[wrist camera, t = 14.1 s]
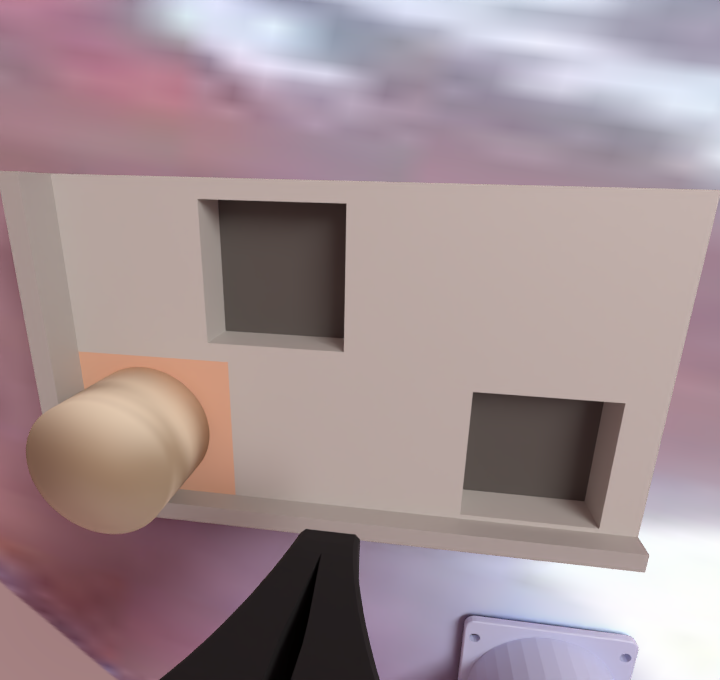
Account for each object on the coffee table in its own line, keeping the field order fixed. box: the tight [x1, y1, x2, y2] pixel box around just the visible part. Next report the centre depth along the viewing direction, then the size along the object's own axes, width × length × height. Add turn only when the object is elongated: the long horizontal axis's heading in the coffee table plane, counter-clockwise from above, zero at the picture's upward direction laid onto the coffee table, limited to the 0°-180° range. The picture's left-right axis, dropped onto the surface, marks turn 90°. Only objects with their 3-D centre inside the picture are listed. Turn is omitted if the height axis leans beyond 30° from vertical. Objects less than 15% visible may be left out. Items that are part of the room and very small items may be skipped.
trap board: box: [0, 171, 720, 572], centre depth 19 cm, size 14×24×4 cm, turn 89°
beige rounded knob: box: [26, 367, 209, 534], centre depth 19 cm, size 5×5×4 cm
